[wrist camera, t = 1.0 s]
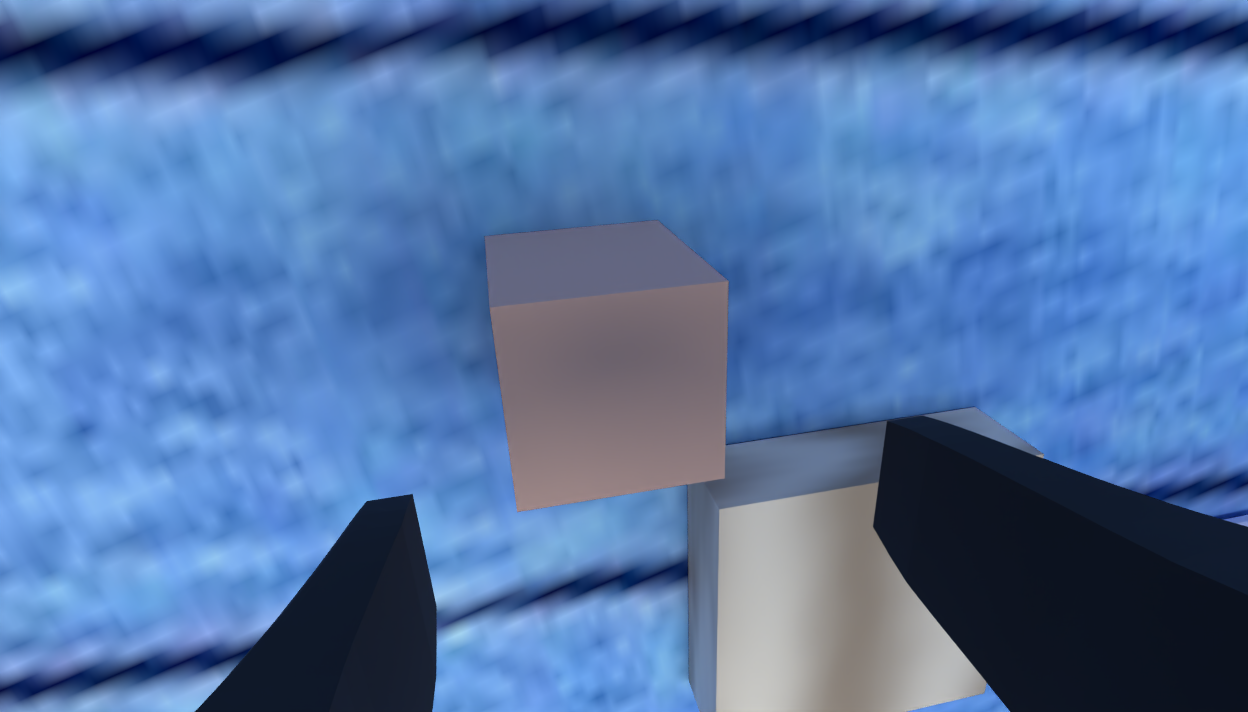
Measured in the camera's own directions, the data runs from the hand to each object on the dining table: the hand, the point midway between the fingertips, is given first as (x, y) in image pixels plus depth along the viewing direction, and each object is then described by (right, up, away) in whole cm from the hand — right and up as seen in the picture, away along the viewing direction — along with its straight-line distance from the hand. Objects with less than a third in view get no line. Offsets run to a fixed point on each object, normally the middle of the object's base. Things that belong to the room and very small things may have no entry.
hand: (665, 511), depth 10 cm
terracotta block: (-2, +4, +8) cm, 9 cm away
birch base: (+6, -5, +14) cm, 16 cm away
